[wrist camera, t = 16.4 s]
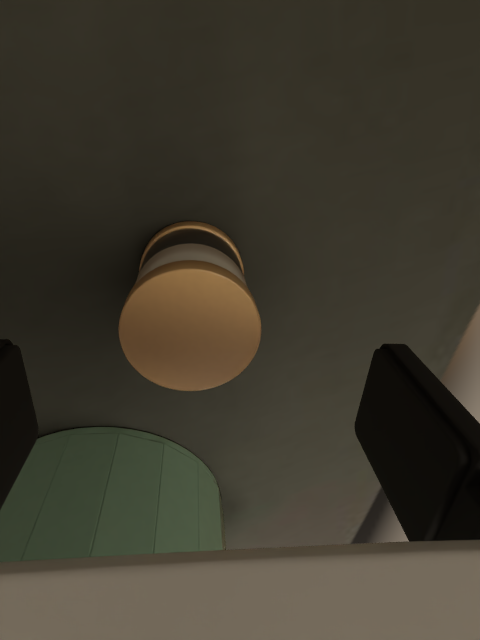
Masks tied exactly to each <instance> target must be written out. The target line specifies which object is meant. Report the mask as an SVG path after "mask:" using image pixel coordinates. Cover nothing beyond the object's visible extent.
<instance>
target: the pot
mask: <svg viewBox="0 0 480 640" xmlns="http://www.w3.org/2000/svg"><path fill="white" fill-rule="evenodd" d="M216 550H226V541H225V527H224V514H223V508H222V503H221V494H220V490H219V486H218V484H217V482H216V479H215V477H214V476H213V474H212V473H211V471H210V470H209V468H208V467H207V466H206V465H205V464H204V463H203V462H202V461H201V460H200V459H199V458H198V457H196V456H195V455H194V454H193V453H191V452H190V451H188V450H187V449H185V448H183V447H182V446H180V445H178V444H176V443H174V442H172V441H170V440H167V439H165V438H163V437H160V436H157V435H154V434H150V433H147V432H142V431H138V430H133V429H125V428H117V427H87V428H77V429H71V430H65V431H60V432H57V433H53V434H49V435H46V436H43V437H41V438H38V439H37V440H36V443H35V444H34V446H33V448H32V450H31V452H30V454H29V456H28V458H27V460H26V462H25V464H24V466H23V467H22V469H21V471H20V473H19V475H18V477H17V479H16V481H15V483H14V485H13V487H12V489H11V490H10V492H9V494H8V496H7V498H6V500H5V502H4V504H3V506H2V508H1V510H0V562H13V561H30V560H48V559H66V558H84V557H102V556H120V555H138V554H158V553H177V552H197V551H216Z"/></svg>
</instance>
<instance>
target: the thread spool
mask: <svg viewBox="0 0 480 640" xmlns="http://www.w3.org/2000/svg"><path fill="white" fill-rule="evenodd" d="M260 338H261V320H260V316H259V312H258V309H257V306H256V303H255V300H254V298H253V296H252V294H251V292H250V291H249V289H248V288H247V284H246V281H245V278H244V269H243V264H242V260H241V257H240V254H239V252H238V249H237V247H236V246H235V244H234V243H233V241H232V240H231V239H230V238H229V237H228V236H227V235H226V234H225V233H224V232H222V231H221V230H220V229H218V228H216V227H214V226H212V225H209V224H206V223H202V222H196V221H185V222H178V223H175V224H172V225H170V226H167V227H165V228H164V229H162V230H161V231H159V232H158V233H157V234H156V235H155V236H154V237H153V238H152V239H151V240H150V241H149V243H148V244H147V246H146V248H145V250H144V253H143V255H142V258H141V262H140V267H139V274H138V277H137V280H136V283H135V285H134V287H133V288H132V289H131V291H130V292H129V294H128V296H127V299H126V301H125V304H124V306H123V309H122V312H121V315H120V319H119V339H120V344H121V347H122V350H123V352H124V354H125V356H126V358H127V359H128V361H129V362H130V363H131V365H132V366H133V367H134V368H135V369H136V370H137V371H138V372H139V373H140V374H141V375H143V376H144V377H145V378H147V379H148V380H150V381H152V382H154V383H156V384H158V385H161V386H163V387H166V388H170V389H174V390H181V391H199V390H205V389H210V388H213V387H217V386H219V385H222V384H224V383H226V382H228V381H230V380H231V379H233V378H234V377H236V376H237V375H239V374H240V373H241V372H242V371H243V370H244V369H245V368H246V367H247V366H248V365H249V363H250V362H251V360H252V359H253V357H254V355H255V353H256V351H257V349H258V346H259V343H260Z"/></svg>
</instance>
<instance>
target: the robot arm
mask: <svg viewBox="0 0 480 640" xmlns="http://www.w3.org/2000/svg"><path fill="white" fill-rule="evenodd" d="M355 433H356V436H357V438H358V440H359V442H360V444H361V446H362V448H363V450H364V452H365V454H366V456H367V458H368V460H369V462H370V464H371V466H372V468H373V470H374V472H375V474H376V476H377V478H378V480H379V482H380V484H381V486H382V488H383V490H384V492H385V494H386V496H387V498H388V500H389V502H390V504H391V506H392V508H393V510H394V512H395V514H396V516H397V518H398V520H399V522H400V524H401V526H402V528H403V530H404V532H405V534H406V536H407V538H408V540H409V542H388V543H366V544H343V545H320V546H298V547H277V548H257V549H236V550H216V551H197V552H177V553H158V554H138V555H120V556H102V557H84V558H66V559H48V560H30V561H13V562H0V640H480V424H479V423H478V421H477V420H476V419H475V418H474V417H473V416H472V415H471V414H470V413H469V412H468V411H467V410H466V409H465V407H464V406H463V405H462V404H461V403H460V402H459V401H458V400H457V399H456V398H455V397H454V396H453V395H452V394H451V392H450V391H449V390H448V389H447V388H446V387H445V386H444V385H443V384H442V383H441V382H440V381H439V380H438V378H437V377H436V376H435V375H434V374H433V373H432V372H431V371H430V370H429V369H428V368H427V367H426V366H425V364H424V363H423V362H422V361H421V360H420V359H419V358H418V357H417V356H416V355H415V354H414V353H413V352H412V351H411V349H410V348H409V347H408V346H407V345H405V344H383V345H382V346H381V347H380V349H376V350H375V351H374V354H373V358H372V361H371V365H370V369H369V372H368V376H367V380H366V384H365V387H364V391H363V395H362V398H361V402H360V406H359V410H358V413H357V417H356V421H355ZM37 437H38V423H37V419H36V415H35V410H34V406H33V402H32V397H31V393H30V389H29V385H28V380H27V376H26V372H25V367H24V363H23V359H22V354H21V350H20V348H19V347H18V346H17V345H13V343H12V342H11V341H10V340H8V339H0V510H1V508H2V506H3V504H4V502H5V500H6V498H7V496H8V494H9V492H10V490H11V489H12V487H13V485H14V483H15V481H16V479H17V477H18V475H19V473H20V471H21V469H22V467H23V466H24V464H25V462H26V460H27V458H28V456H29V454H30V452H31V450H32V448H33V446H34V444H35V443H36V440H37Z"/></svg>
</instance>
